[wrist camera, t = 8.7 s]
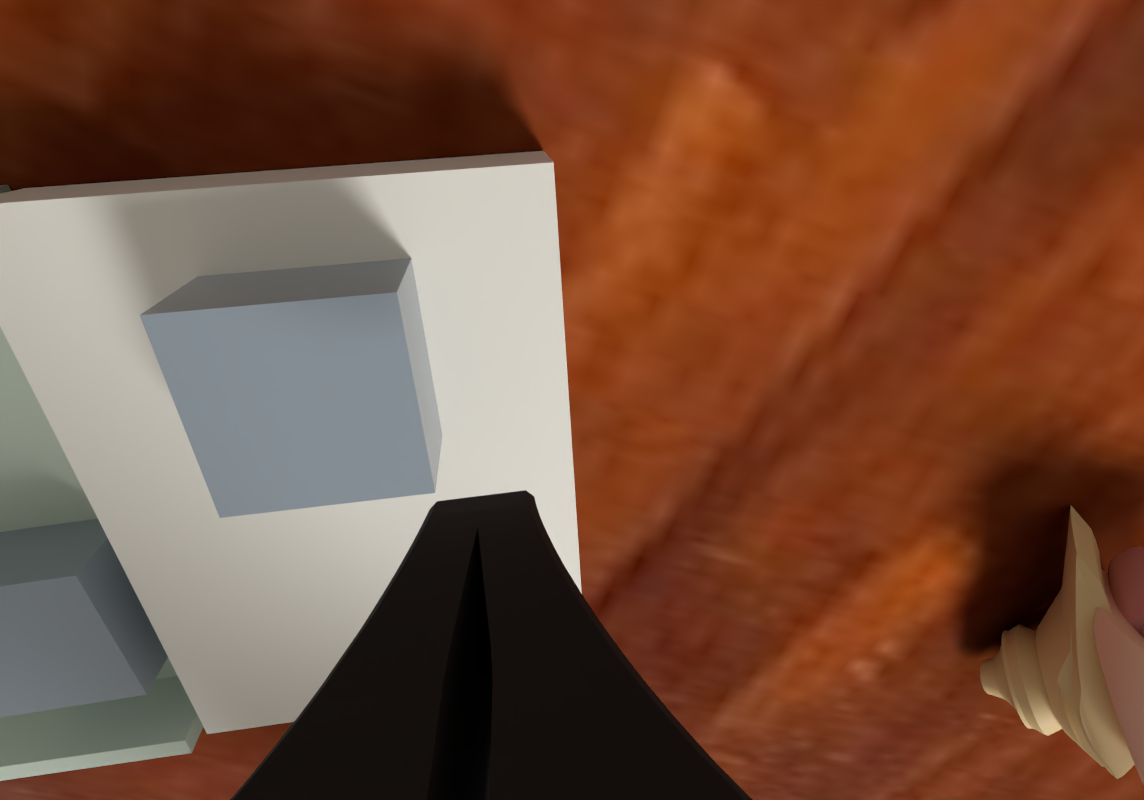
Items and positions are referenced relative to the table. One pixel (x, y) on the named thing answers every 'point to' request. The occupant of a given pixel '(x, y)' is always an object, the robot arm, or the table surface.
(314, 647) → the board
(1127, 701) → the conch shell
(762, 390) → the table surface
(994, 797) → the table surface
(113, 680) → the squat square grey block
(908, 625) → the table surface
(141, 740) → the box
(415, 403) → the tile outer
